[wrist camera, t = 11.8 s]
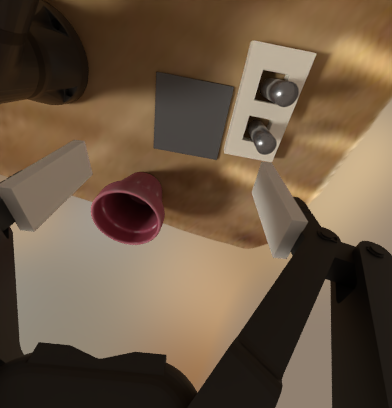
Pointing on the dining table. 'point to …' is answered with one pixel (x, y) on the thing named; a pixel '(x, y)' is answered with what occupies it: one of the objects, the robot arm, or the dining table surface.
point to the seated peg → (261, 137)
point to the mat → (190, 115)
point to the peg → (279, 91)
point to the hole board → (248, 106)
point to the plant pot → (130, 209)
